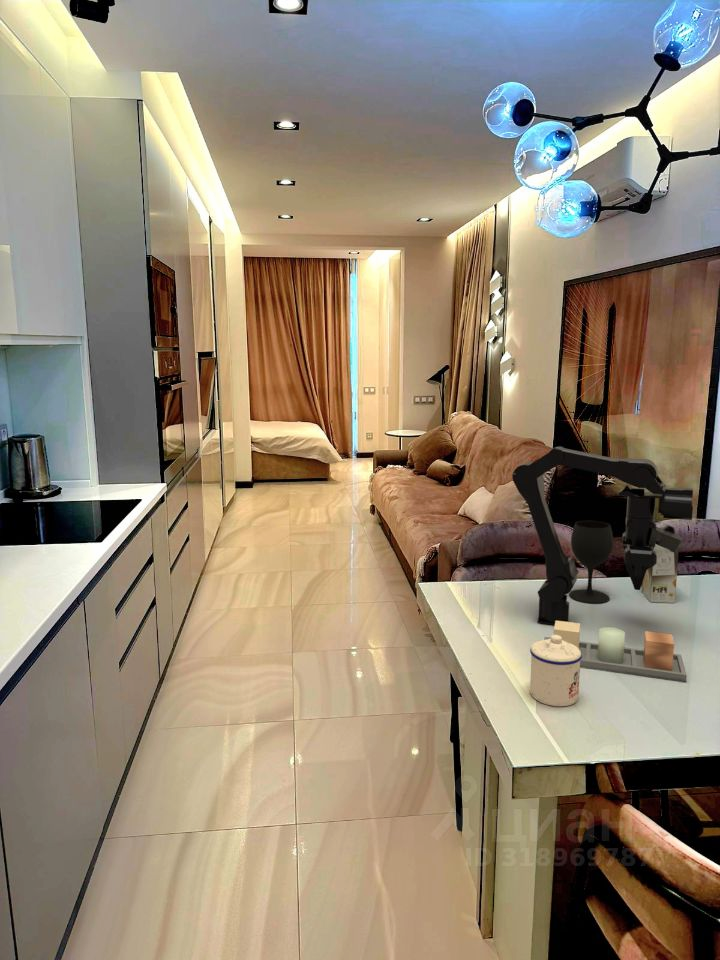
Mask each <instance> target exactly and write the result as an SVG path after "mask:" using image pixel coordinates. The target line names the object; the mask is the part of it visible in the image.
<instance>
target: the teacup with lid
mask: <svg viewBox="0 0 720 960" xmlns="http://www.w3.org/2000/svg"><path fill="white" fill-rule="evenodd" d="M550 638H551V639H547V640H544V639H542V640H537V641H535V642H534V643H532V644H531V646H530V649H529V652H530V655H531V657H530V682H529V683H530V685H529V691H530V695H531V696H532V697H533V698H534V699H535V700H537V701H538V702H539V703H542V704H545V705H547V706H553V707H566V706H571V705H574V704H575V703H576V702H577V701H579V694H580V693H579V692H580V671H581V669H580V668H581V667H580V660H581V658H582V654H581V652H580V650H579V649H578V648H577V647H576V646H575V645H573V644H571V643H568V642H565V641H563V640H562V637H561V636H559V635H554V634H552V635H550Z"/></svg>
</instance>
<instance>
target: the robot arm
mask: <svg viewBox="0 0 720 960" xmlns="http://www.w3.org/2000/svg"><path fill="white" fill-rule="evenodd" d="M557 466H562V467H567V468H572V469H577V470H582V471H585V472H591V473H596V474H601V475H605V476H610V477H612V478H615V479H617V480H619V481H620V482H623V483H625V484H626V485H625V486H624V487H622V488H621V489H620V490H619V491H618V496H620V497H627V501H626V503H627V504H626V517H625V531H624V532H623V533H622V548H623V551H624V552H623V553H624V554H623V559H624V561H623V562H624V564H625V567H626V570H627V572H628V575H629V579H630V581H631V583H632V586H633V588H634V591H635V590H636V591H641V586H642V583H643V580H644V576H645V574H646V571H647V569H649V568H650V567H653V566H655V564H656V561H657V555H656V552H655V551H654V550H653V549H652V548H651V547H655V544H657V545H659V546H661V547H664V548H666V549H668V550H670V551H671V552H674V553H676V552H677V550H678V548H680V546H681V544H682V542H683V538H682V537H681V536H680V535H679V534H678V533H676V531H675V527H674V526H672V525H669V524H667V525H665V526H663V527H661V526H660V527H658V526H657V523H656V521H655V518H656V517H655V514H656V501H657V500H656V499H658V508H657V511H658V512H657V513H658V514H660V515H661V516H663V519H669V520H670V519H672V520H681V521H683V520H685V521H693V514H694V513H693V512H694V501H693V497H694V496H693V495H694V494H693V493H694V489H693V488H687V487H686V488H671V487H667V486H666V485H665V482H663V480H662V479H661V477H660V476H659V475H658V467H657V465H656V464H655V462H653V461H652V460H650V459H647V458H633V457H632V458H617V457H615V458H614V457H609V456H604V455H600V454H599V455H598V454H594V453H590V452H585V451H579V450H573V449H569V448H565V447H563V446H556V447H554V448H551V449H550V451H549V452H548V453H545V454H544V455H542V456H541V457H539V458H538V459H537V460H535V461H526V462H524V463H522V464H521V465H519V466H517V467H516V468H515V469H513V472H512V475H511V477H512V482H513V484H514V485H515V488H516V489H517V491H518V493H519V494H520V496H521V497H522V498H523V500H524V501H525V502H526V504H527V507H528V510H529V513H530V515H531V519H532V521H533V524H534V528H535V532H536V534H537V537H538V540H539V544H540V546H541V549H542V552H543V555H544V557H545V575H546V580H544V582H542V585H541V587H540V588H539V589H538V591H537V595H538V598H539V600H538V617H537V619H536V620H537V624H543V625H551V626H553V625H554V626H555V621H564V622H569V619H570V618H569V616H570V601H568V600H567V599H568V595H569V593H570V592H571V591H573V590H572V589H573V587H574V586H575V585H576V583H577V580H578V574H579V572H580V571H579V570H578V569H577V567H576V564H575V563H576V562H575V558H574V557H575V556H570V557H568V556H566V554H565V553H564V551H563V549H562V548H563V547H562V545H561V542H560V539H559V536H558V533H557V530H556V527H555V524H554V521H553V518H552V516H551V513H550V508H549V506H548V504H547V500H546V497H545V480H544V474H546V473H548V472H549V471H551V470H552V469H554V468H555V467H557ZM646 490H647V491H648V492H647V491H646Z"/></svg>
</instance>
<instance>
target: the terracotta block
mask: <svg viewBox="0 0 720 960" xmlns="http://www.w3.org/2000/svg"><path fill="white" fill-rule="evenodd" d="M643 638H644V639H643V640H644V642H643V650H644V654H643V661H644V668H651V669H659V670H666V671H672V667H673V654H675V652H674V651H675V650H674V649H675V643H674V638H673V634H671V633H670V634H669V633H663V632H662V633H661V632H654V631H647V630H646V631H644V637H643Z"/></svg>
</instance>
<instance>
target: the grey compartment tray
mask: <svg viewBox="0 0 720 960" xmlns="http://www.w3.org/2000/svg"><path fill="white" fill-rule="evenodd" d="M580 632H581V623H578V622H572V621H570V622H569V621H567V622H564V621H555V625H554V627H553V635H559V636H561V637H562V640H563V641H565V642H568V643H571V644H573V645H575V646H576V647H577V648H578V649H579V650H580V652H581V654H582V658H581V660H580V668H584V669H589V668H592V669H591V670H596V669H599V671H603V670H606V671H605V672H610V671H611V673H618V674H626V675H632V676H638V677H639V676H640V677H645V678H646V677H647V678H652V679H660V680H667V681H673V682H679V683H680V682H681V683H687V678H688V677H687V676H688V675H687V671H686V667H685V664H684V661H683V656H682V654H679V653H673V667H672V671H666V670H659V669H651V668H644V661H643V654H644V649H640V648H634V647H626V646H625V642H626V639H625V638H626V632H625V631H624V630H622V629H620V628H618V627H614V626H613V627H611V626H603V627H600V628H599V629H598V643H594V642H585V641H581V640H580ZM547 639H551V636H550V637H548V636H544V639H543V640H547Z"/></svg>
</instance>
